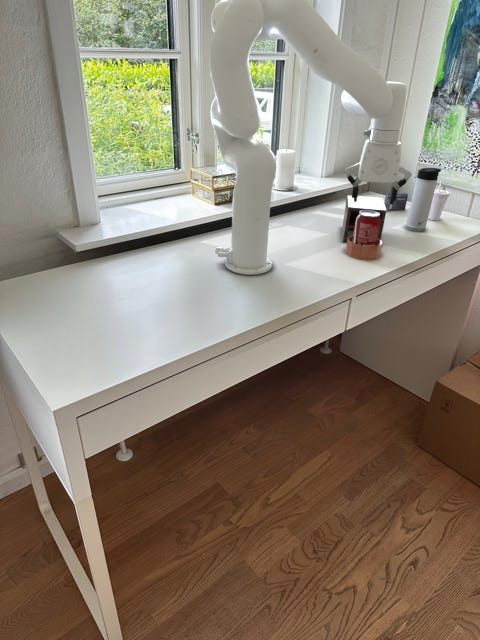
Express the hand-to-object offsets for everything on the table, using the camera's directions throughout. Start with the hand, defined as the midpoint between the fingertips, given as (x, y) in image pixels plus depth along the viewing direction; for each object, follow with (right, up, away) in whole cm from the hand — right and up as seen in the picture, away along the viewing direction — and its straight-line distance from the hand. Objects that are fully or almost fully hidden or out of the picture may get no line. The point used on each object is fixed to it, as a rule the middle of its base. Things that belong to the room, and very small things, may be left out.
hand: (372, 201), depth 129 cm
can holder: (-1, -13, +8) cm, 15 cm away
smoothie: (+32, +3, +38) cm, 50 cm away
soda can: (-1, -13, +8) cm, 15 cm away
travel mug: (+22, -2, +28) cm, 36 cm away
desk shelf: (+1, -6, +20) cm, 21 cm away
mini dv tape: (+21, +8, +46) cm, 51 cm away
